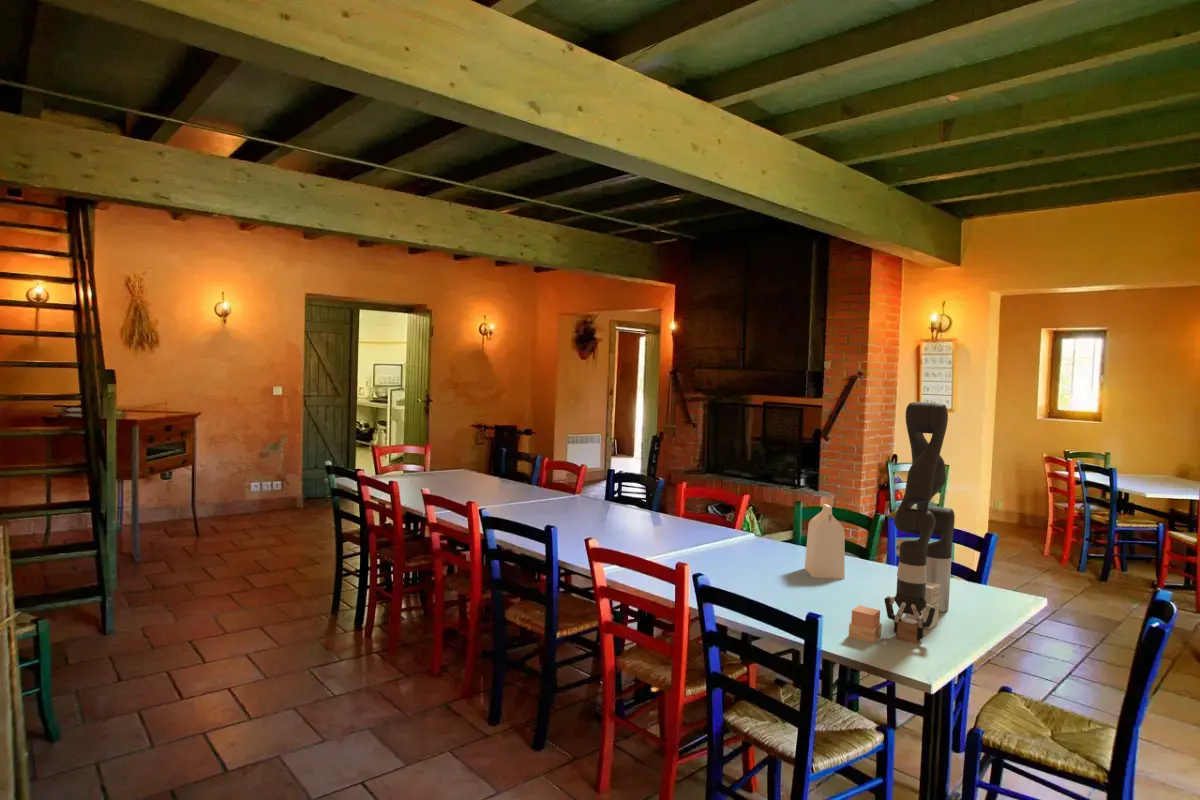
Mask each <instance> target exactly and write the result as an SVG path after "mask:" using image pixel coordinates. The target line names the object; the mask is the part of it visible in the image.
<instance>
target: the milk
mask: <svg viewBox="0 0 1200 800" xmlns="http://www.w3.org/2000/svg"><path fill="white" fill-rule="evenodd" d="M832 508H833V507H832V506H831V505H829V504H827V503H823V505H822V510H821V511H820V512H819V513H817V514H816V515H815V516H813V517H812V518H811V519H810V520H809V522H808V527H807V529H808V530H807V538H806V539H807V540H806V546H805V547H806V548H805V559H804V570H805V571H807V573H808V574H809V575H810V576H811V577H813V578H817V579H818V578H819V579H820V578H822V579H838V580H839V579H842V580H844V579H845V575H846V573H845V572H846V571H845V561H846V560H845V554H846V551H845V543H846V542H845V528H844V526H843V525H842V524H841V522H839V520H837V519H836V518H835V517H834V515H833V509H832Z"/></svg>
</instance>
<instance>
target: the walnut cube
mask: <svg viewBox="0 0 1200 800" xmlns="http://www.w3.org/2000/svg"><path fill="white" fill-rule="evenodd" d="M917 629H918V624H917V621H916V620H912V619H908V618H906V617H905V616H904V617H903V616H902V617H901V619H900V620H899V621H898V627H897V635H896V640H899V641H904V642H908V643H912V644H915V645H916V644H917V643H918V642H919V641H918V640H917Z"/></svg>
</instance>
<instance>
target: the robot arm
mask: <svg viewBox="0 0 1200 800" xmlns="http://www.w3.org/2000/svg"><path fill="white" fill-rule="evenodd" d="M948 421H949V413H948V408H947V405H946V404H944V403H940V402H929V401H928V402H925V401H914V402H913V401H912V402H909V404H908V405H906V410H905V425H906V430H907V435H908V440H909V444H910V445H909V446H910V452H911V462H912V463H911V465H910V467H909V470H908V471H907V475H906V476H907V478H906V484H905V491H904V494H903V497H902V499H901V503H900V505H899V507H898V509H897V511H896V512H895V515H894V520H893V521H894V522H893V523H894V526H895V528H896V530H898V531H899V532H902V533H905V534H914V535H919V538H918V539H914V540H903V541H902V542H901V543H900V544H899V545H900V546H899V557H898V565H897V573H896V576H897V578H896V592H895V593H896V594H895V595H894V596H890V595H888V596H886V597H885V598H884V599H883V600H884V604H885V610H886V616H887V618H888V619H889V620H892V621H893V622H894V623H893V625H894V626H893V632H894V634H895V636H897V627H898V621H899V620H900V619H901V618H902V617H903V615H904V614H905V615H906V614H911V615H914V616H915V619H916V621H917V624H918V629H917V640H918V641H917V642H919V641H921V640H922V639H923V638H924V635H925V628H924V627H930V625H931V624H932V621H933V618H934V615H935V612H936V609H937V607H936V606H931V605H928V604H927V603H926V600H925V591H926V581H927V582H931V583H935V584H940V585H941V586H940V597H939V612H941V613H942V612H947V611H949V604H950V587H951V571H952V570H951V568H952V553H953V552H952V551H953V539H954V529H955V519H956V516H955V511H954V510H953V509H952V508H951V507H943V506H938V505H936V506H935V505H930V504H929V503H930V502H931V500H932V498H934V496H936V495H937V493H939V491H940V490H941V489H942V488H943V487H944V485H945V483H946V482H947V481H946V480H947V474H946V464H945V461H944V458H943V457H942V455H940V454H941V452H942V451H941V450H942V447H943V444H944V439H945V437H946V436H945V435H946V432H947V427H948ZM925 434H930V435H931V438H930V441H928V440H927V438H926V437H925ZM914 505H916V508H913V506H914ZM932 535H936V536H941V537H940V539H939V540H937V541H934V542H930V539H931V536H932ZM894 604H896V605H897V607H898V610H897V612H896V614H895V612H894V608H893V605H894ZM924 608H926V609H927V612H928V613H929V614H928V617H927V620H926V622H924V620H923V615H922V612H921V611H922V610H923V609H924ZM939 612H938V613H939Z"/></svg>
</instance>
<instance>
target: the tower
mask: <svg viewBox="0 0 1200 800" xmlns="http://www.w3.org/2000/svg"><path fill="white" fill-rule="evenodd" d="M880 620H881V610H880V609H876V608H872V607H868V606H863V605H857V606H855V608H853V609H851V622H850V623H851V624H853V625H857V626H861V627H865V628H869V629H874V628H875V627H877V626H878V625H879V624H880V623H881V622H880Z"/></svg>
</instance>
